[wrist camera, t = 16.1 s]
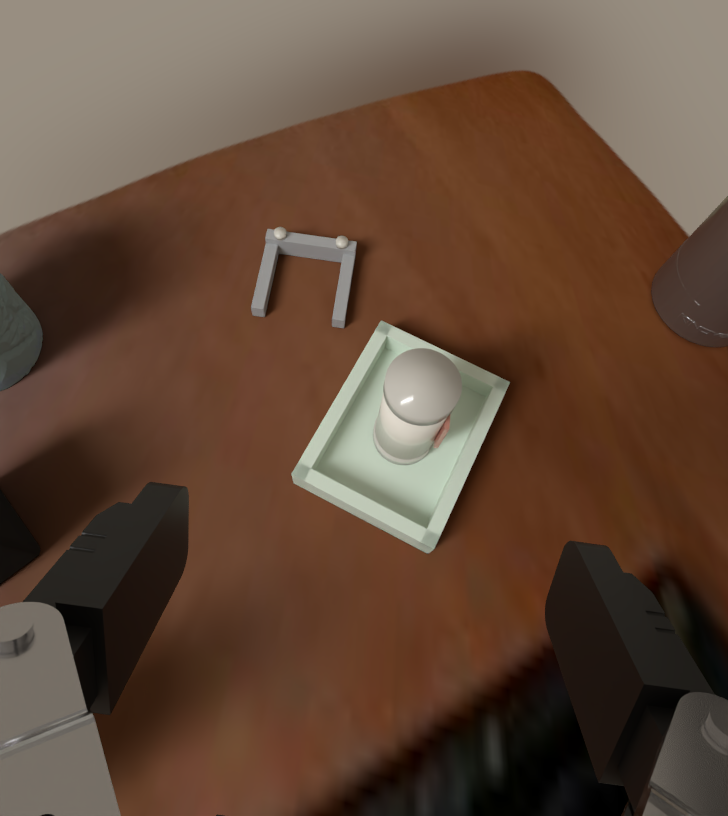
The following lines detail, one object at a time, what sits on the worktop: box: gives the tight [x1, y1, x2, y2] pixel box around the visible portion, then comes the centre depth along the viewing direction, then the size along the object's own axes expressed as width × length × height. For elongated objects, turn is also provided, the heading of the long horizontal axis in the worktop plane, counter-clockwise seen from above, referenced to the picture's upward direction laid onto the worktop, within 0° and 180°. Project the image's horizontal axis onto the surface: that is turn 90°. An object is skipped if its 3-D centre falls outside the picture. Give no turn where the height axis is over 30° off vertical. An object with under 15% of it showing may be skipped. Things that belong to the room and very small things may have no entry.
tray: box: [291, 321, 510, 554], centre depth 42 cm, size 14×11×3 cm
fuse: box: [373, 348, 462, 465], centre depth 38 cm, size 5×5×10 cm
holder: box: [251, 227, 357, 328], centre depth 47 cm, size 7×8×2 cm
